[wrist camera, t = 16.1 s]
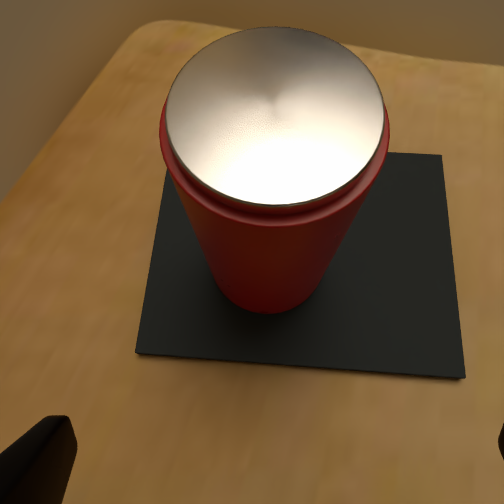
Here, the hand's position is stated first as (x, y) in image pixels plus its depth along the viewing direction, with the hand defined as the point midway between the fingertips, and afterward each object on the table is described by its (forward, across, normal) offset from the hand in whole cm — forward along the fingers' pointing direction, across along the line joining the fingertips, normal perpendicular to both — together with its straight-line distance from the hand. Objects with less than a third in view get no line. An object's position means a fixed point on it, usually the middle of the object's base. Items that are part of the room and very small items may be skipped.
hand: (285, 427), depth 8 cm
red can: (+15, 0, +4) cm, 15 cm away
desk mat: (+16, -2, +3) cm, 16 cm away
